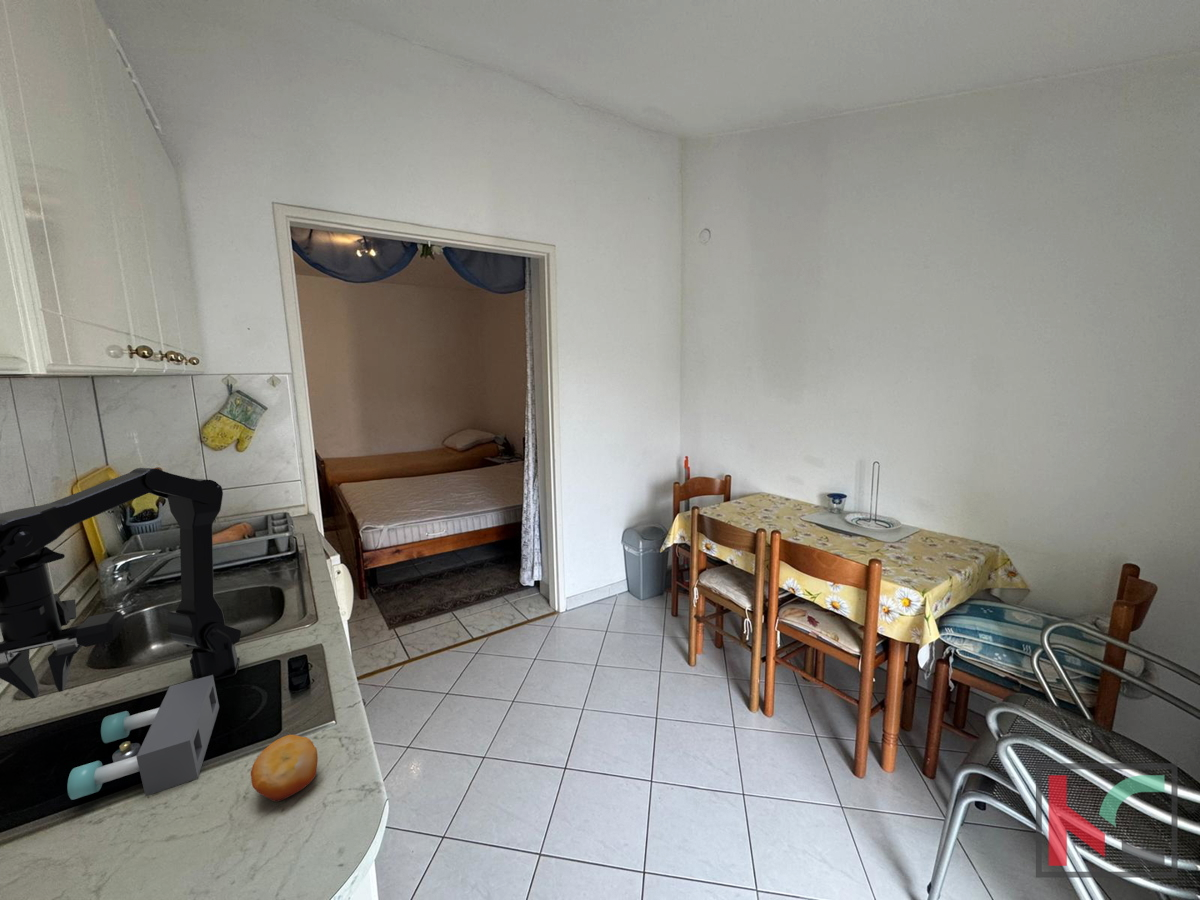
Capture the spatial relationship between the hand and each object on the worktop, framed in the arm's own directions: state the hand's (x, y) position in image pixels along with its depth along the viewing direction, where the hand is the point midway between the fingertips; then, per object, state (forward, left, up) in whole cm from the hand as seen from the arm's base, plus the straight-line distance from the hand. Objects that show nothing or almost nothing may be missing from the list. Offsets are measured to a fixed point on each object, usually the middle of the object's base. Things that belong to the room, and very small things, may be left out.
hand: (49, 693), depth 76 cm
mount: (-16, +6, -12) cm, 21 cm away
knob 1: (-10, 0, -10) cm, 14 cm away
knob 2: (-10, +12, -10) cm, 19 cm away
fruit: (-31, +24, -12) cm, 41 cm away
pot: (-9, +6, -12) cm, 16 cm away
